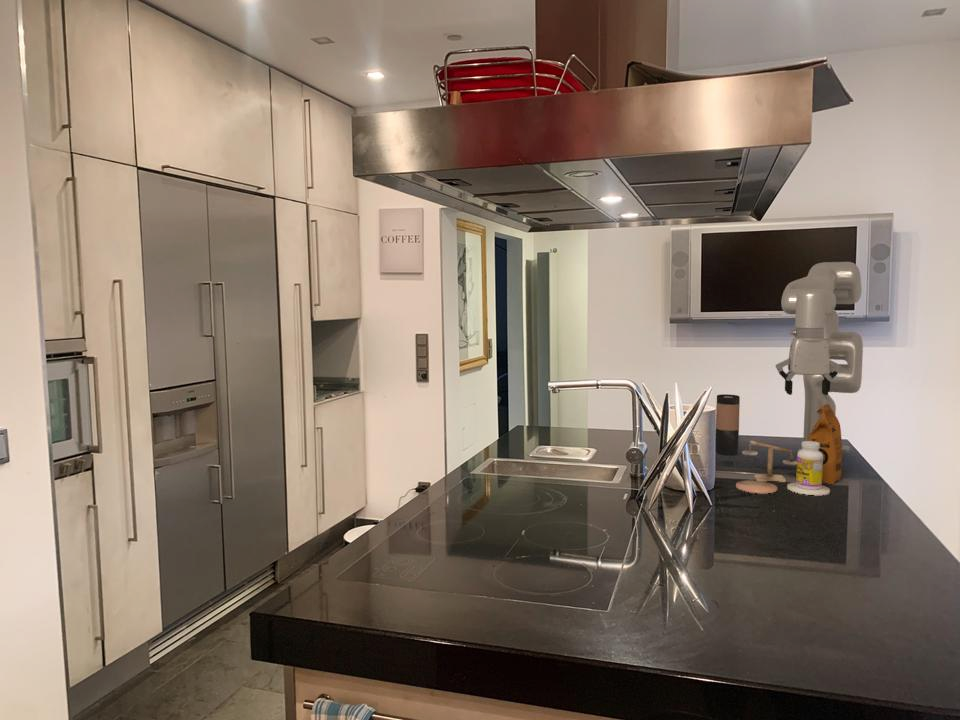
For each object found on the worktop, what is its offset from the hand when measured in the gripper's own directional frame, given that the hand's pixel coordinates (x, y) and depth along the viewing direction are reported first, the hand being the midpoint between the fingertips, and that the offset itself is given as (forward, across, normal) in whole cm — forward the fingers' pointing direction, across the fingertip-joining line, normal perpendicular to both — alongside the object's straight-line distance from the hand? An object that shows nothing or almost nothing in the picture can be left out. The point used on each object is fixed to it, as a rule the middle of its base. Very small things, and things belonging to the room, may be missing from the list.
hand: (806, 394), depth 202 cm
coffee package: (+27, +8, +9) cm, 30 cm away
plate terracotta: (+27, -14, -4) cm, 30 cm away
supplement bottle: (+26, 0, -4) cm, 27 cm away
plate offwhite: (+27, 0, -4) cm, 27 cm away
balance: (+27, -8, +6) cm, 29 cm away
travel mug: (+28, -13, +40) cm, 51 cm away
